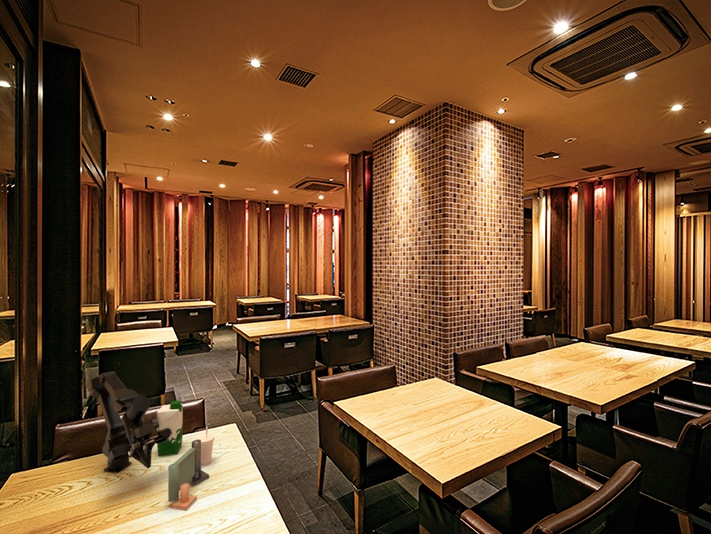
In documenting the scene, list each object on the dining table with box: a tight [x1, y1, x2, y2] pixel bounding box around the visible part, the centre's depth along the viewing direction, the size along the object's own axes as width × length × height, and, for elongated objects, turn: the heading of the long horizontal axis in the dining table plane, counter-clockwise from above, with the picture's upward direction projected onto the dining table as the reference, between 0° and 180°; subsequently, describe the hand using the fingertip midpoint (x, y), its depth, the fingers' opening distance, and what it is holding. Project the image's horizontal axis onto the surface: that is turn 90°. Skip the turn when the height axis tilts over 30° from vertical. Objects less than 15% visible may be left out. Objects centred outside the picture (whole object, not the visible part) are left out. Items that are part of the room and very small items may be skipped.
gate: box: [167, 447, 196, 503], centre depth 115 cm, size 12×3×10 cm, turn 174°
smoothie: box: [196, 426, 215, 466], centre depth 133 cm, size 6×6×14 cm
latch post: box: [171, 483, 198, 511], centre depth 110 cm, size 5×5×6 cm
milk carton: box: [156, 400, 184, 457], centre depth 142 cm, size 9×9×20 cm
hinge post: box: [187, 439, 210, 488], centre depth 123 cm, size 6×6×14 cm
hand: (149, 467), depth 116 cm, fingers closed
